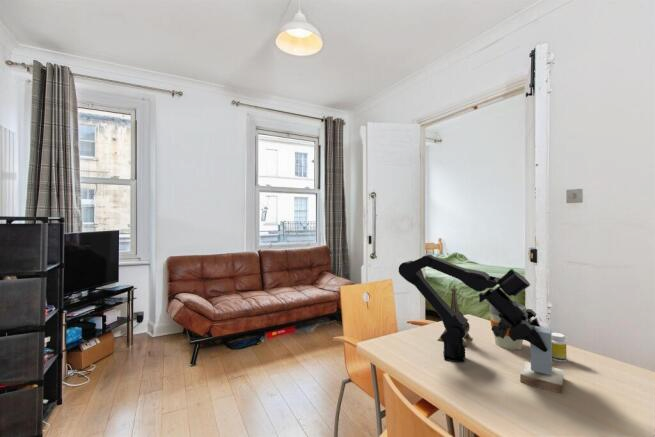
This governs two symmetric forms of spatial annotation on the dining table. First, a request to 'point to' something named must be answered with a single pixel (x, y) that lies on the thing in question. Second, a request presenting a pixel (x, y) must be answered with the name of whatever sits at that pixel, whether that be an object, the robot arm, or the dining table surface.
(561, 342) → the supplement bottle
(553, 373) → the plinth
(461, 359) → the robot arm
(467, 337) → the eiffel tower
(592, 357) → the dining table surface
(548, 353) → the slate block
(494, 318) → the reusable coffee cup
